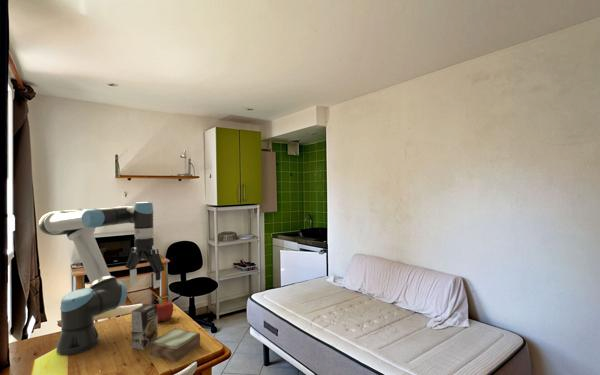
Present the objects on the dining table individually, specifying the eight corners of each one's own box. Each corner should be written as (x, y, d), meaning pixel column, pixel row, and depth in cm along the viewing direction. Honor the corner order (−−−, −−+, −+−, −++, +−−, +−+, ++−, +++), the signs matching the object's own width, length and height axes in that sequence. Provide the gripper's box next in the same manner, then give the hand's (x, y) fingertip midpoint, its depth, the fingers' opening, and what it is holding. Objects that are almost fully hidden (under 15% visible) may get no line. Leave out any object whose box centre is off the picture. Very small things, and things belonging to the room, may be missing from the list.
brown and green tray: (150, 354, 131) (149, 342, 131) (175, 339, 144) (174, 327, 144) (176, 361, 126) (176, 348, 126) (200, 344, 139) (199, 332, 139)
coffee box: (144, 350, 135) (143, 312, 134) (131, 348, 136) (130, 311, 136) (158, 339, 143) (157, 304, 143) (146, 338, 145) (145, 303, 145)
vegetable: (147, 320, 164) (147, 300, 164) (166, 313, 172) (166, 295, 172) (157, 326, 157) (157, 306, 157) (177, 319, 165) (177, 300, 164)
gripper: (115, 237, 140) (116, 285, 140) (159, 240, 131) (160, 291, 131) (130, 234, 147) (131, 280, 147) (172, 237, 138) (173, 286, 138)
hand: (145, 285), depth 139 cm, fingers open, 13 cm apart
